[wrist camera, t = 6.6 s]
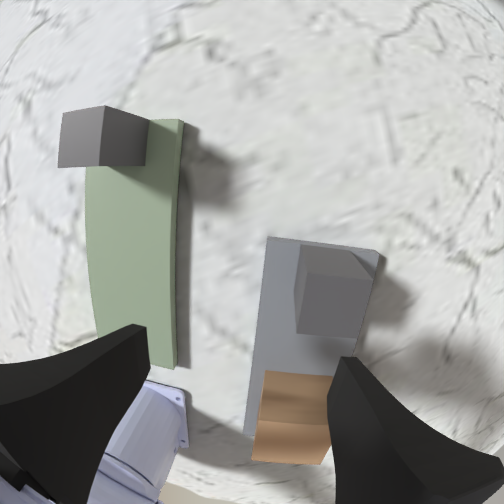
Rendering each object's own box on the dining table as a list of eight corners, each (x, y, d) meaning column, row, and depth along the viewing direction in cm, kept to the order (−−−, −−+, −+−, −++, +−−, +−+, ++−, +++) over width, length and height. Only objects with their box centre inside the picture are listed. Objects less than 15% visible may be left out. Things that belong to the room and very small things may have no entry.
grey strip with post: (317, 433, 22) (320, 483, 16) (244, 427, 23) (234, 477, 17) (374, 250, 17) (411, 284, 11) (267, 236, 18) (259, 267, 12)
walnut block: (316, 418, 20) (320, 464, 15) (257, 413, 21) (251, 460, 16) (332, 375, 19) (340, 425, 14) (265, 370, 19) (259, 420, 14)
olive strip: (177, 362, 21) (150, 413, 15) (106, 343, 22) (69, 382, 16) (184, 121, 16) (139, 101, 10) (97, 126, 17) (40, 118, 11)
